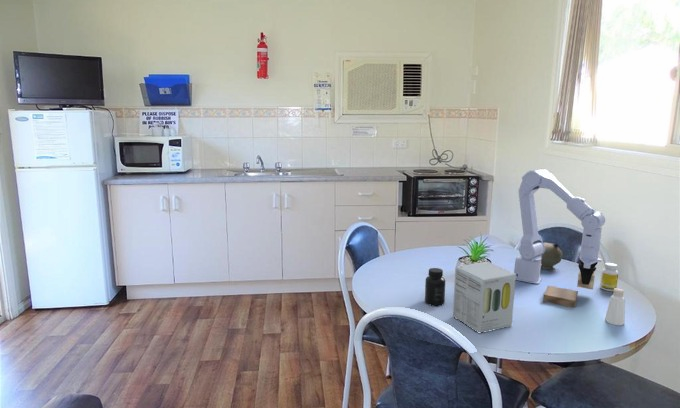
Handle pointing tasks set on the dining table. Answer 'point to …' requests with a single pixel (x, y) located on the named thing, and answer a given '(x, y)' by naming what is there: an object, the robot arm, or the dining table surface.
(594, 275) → the maple block
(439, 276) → the supplement bottle
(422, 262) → the dining table surface
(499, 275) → the supplement box
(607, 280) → the supplement bottle
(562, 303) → the walnut block
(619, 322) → the salt shaker
